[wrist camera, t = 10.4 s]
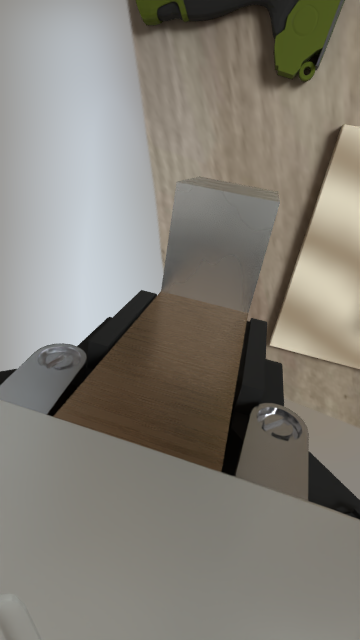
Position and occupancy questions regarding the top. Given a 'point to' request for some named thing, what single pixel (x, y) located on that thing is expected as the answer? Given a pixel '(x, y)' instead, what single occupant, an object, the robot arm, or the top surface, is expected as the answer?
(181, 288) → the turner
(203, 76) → the top surface
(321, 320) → the board
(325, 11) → the gun
